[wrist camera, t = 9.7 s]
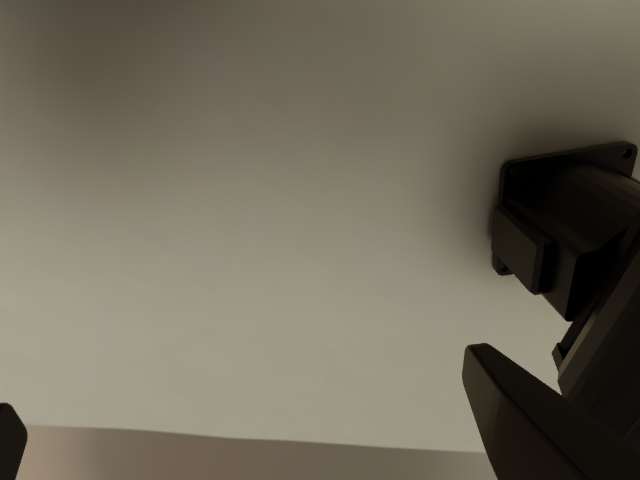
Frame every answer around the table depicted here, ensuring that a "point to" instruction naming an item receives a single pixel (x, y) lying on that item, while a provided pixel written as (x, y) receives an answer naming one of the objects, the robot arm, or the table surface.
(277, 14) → the table surface
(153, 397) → the table surface
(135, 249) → the table surface
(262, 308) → the table surface
